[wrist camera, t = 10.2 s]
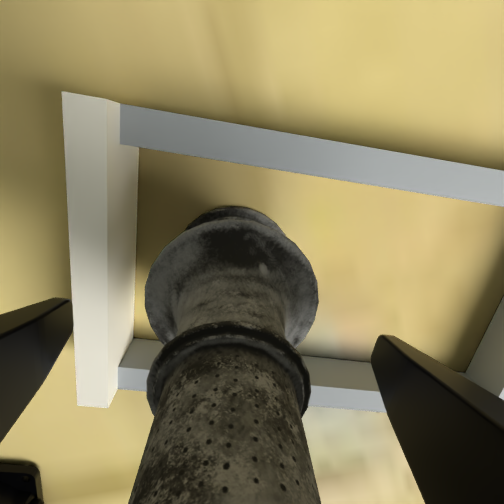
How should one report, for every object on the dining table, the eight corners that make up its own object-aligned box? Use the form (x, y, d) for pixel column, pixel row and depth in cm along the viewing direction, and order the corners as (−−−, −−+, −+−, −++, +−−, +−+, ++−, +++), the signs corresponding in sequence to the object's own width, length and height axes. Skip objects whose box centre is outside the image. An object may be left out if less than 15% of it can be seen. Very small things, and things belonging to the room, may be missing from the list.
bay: (108, 355, 15) (77, 405, 12) (106, 104, 11) (61, 91, 8) (476, 391, 17) (525, 442, 14) (584, 187, 13) (681, 200, 10)
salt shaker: (214, 339, 15) (140, 974, 3) (140, 243, 13) (-540, 947, 2) (320, 283, 14) (669, 875, 3) (257, 172, 12) (538, 582, 1)
